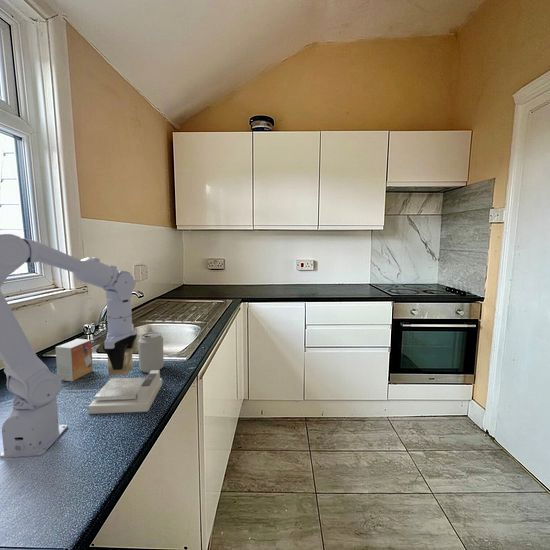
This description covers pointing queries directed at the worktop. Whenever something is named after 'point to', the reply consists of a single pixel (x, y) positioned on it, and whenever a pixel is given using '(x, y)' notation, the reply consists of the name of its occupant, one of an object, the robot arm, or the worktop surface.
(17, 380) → the robot arm
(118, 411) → the scale base
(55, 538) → the worktop surface
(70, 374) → the small box
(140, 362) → the can
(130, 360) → the beech block
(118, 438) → the worktop surface
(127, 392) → the pan
